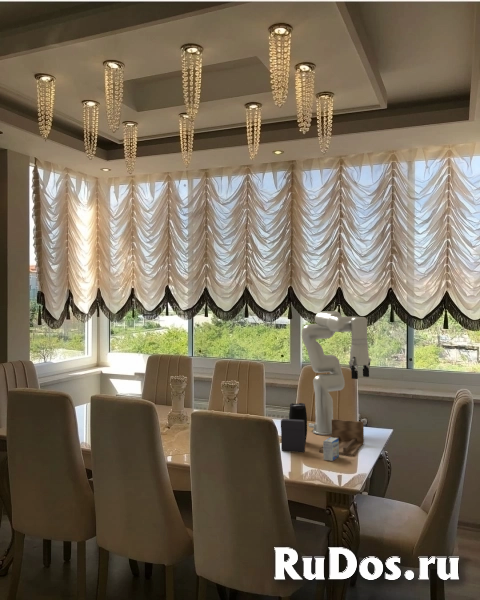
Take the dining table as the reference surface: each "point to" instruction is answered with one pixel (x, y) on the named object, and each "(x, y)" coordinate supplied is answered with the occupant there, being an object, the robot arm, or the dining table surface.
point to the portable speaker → (299, 414)
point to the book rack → (348, 436)
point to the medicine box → (331, 449)
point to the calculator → (293, 435)
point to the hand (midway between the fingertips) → (360, 377)
